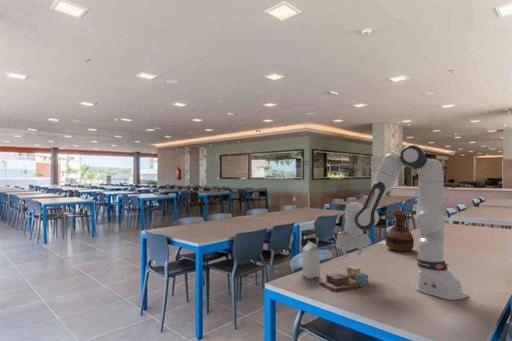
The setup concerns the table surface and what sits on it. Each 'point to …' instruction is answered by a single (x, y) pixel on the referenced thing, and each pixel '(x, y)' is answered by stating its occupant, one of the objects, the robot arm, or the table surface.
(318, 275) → the milk carton
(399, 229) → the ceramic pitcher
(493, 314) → the table surface
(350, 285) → the walnut base
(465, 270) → the table surface
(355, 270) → the oak cube
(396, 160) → the robot arm
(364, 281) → the teal cube
